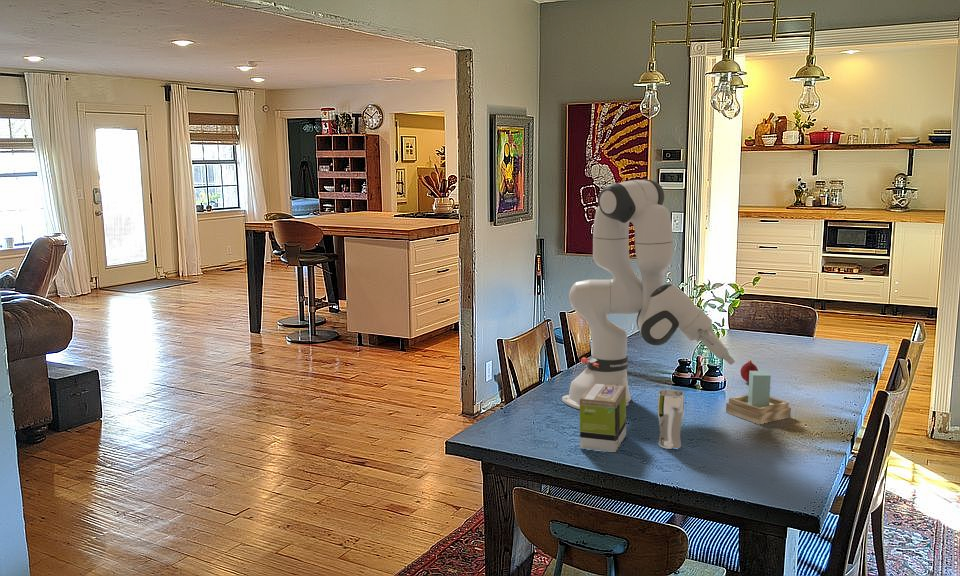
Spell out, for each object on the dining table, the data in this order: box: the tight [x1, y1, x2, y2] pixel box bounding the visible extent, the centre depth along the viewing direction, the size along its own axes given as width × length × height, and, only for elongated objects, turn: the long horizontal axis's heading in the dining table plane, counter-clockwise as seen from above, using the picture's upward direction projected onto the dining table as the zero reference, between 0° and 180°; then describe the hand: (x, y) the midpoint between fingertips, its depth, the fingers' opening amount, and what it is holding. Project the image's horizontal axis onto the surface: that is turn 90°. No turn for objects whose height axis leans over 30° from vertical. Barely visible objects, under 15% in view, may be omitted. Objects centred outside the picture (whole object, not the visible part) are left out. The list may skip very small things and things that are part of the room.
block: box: [747, 370, 772, 408], centre depth 236 cm, size 5×5×10 cm
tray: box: [725, 393, 792, 426], centre depth 237 cm, size 13×13×4 cm
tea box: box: [579, 383, 627, 453], centre depth 216 cm, size 15×10×15 cm, turn 159°
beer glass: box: [657, 388, 685, 449], centre depth 212 cm, size 7×7×15 cm
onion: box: [740, 359, 759, 384], centre depth 270 cm, size 6×6×8 cm
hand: (729, 358), depth 235 cm, fingers open, 8 cm apart
